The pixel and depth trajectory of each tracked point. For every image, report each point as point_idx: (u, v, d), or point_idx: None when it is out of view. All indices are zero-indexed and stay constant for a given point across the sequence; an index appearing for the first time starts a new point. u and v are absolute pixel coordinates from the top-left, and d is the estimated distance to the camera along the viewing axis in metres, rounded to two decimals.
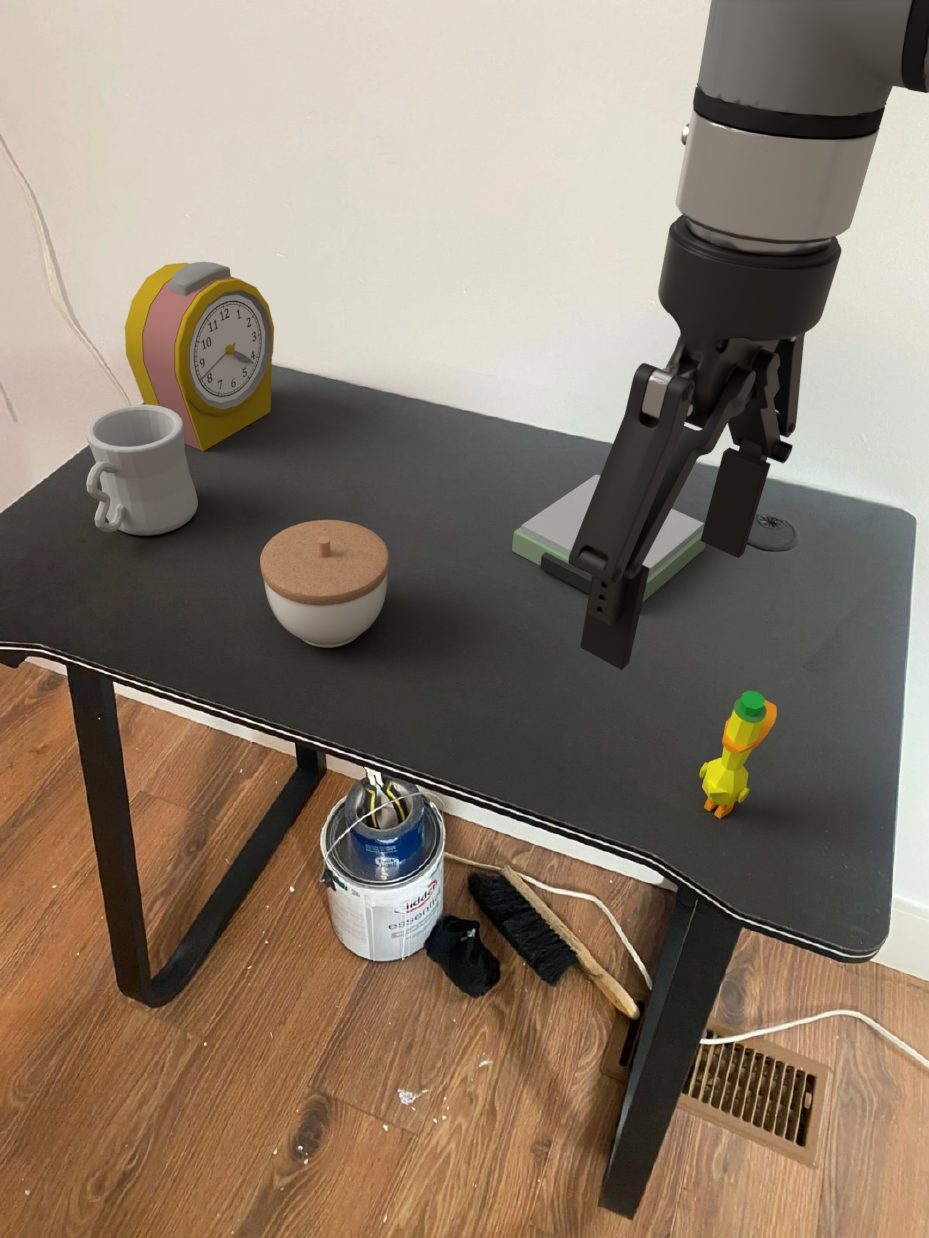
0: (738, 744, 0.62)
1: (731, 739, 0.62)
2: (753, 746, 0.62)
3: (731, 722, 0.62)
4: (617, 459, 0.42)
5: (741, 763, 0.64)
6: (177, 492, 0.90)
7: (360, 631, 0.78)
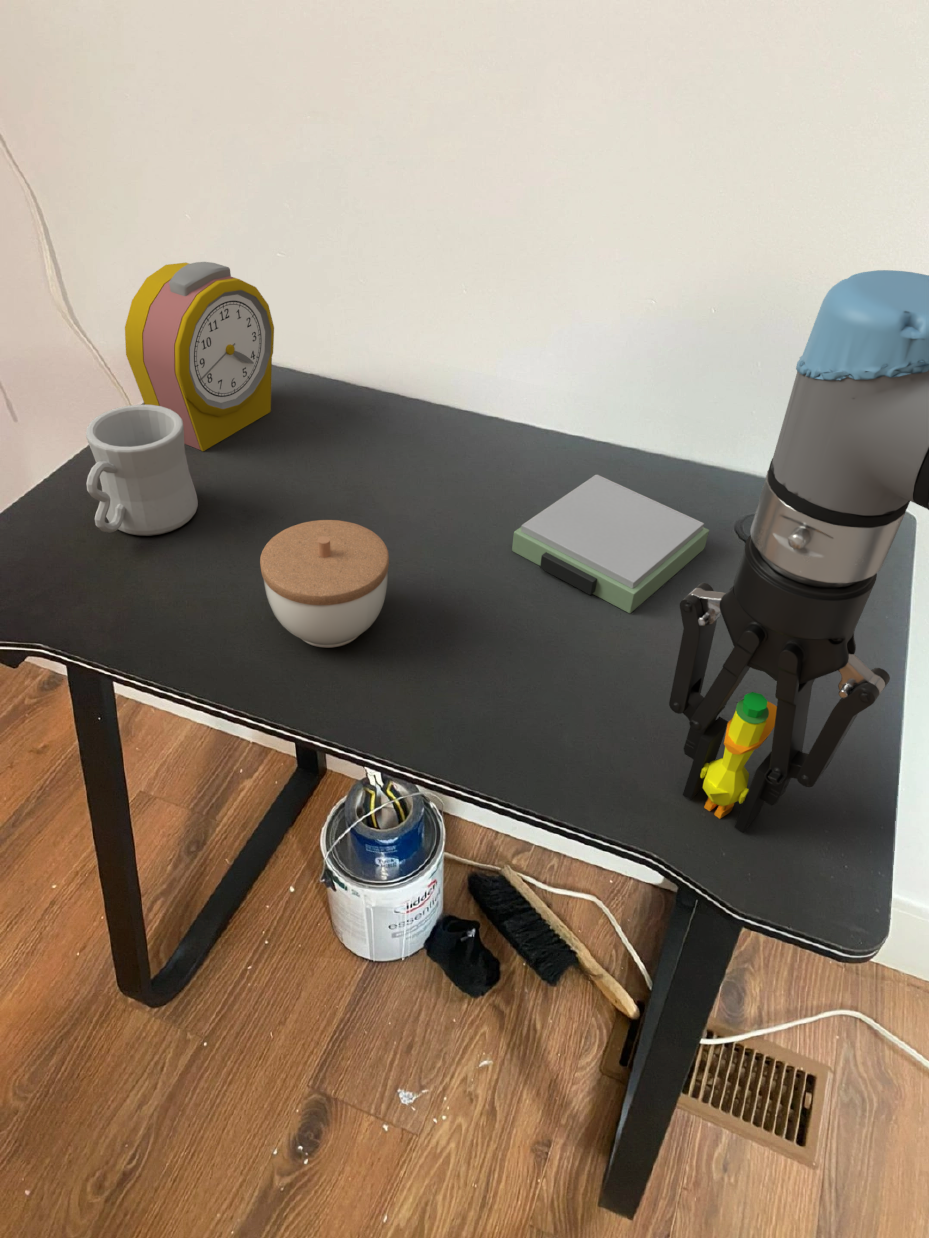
0: (740, 745, 0.62)
1: (733, 740, 0.62)
2: (755, 747, 0.62)
3: (733, 723, 0.62)
4: (844, 732, 0.57)
5: (742, 764, 0.64)
6: (177, 492, 0.90)
7: (360, 631, 0.78)
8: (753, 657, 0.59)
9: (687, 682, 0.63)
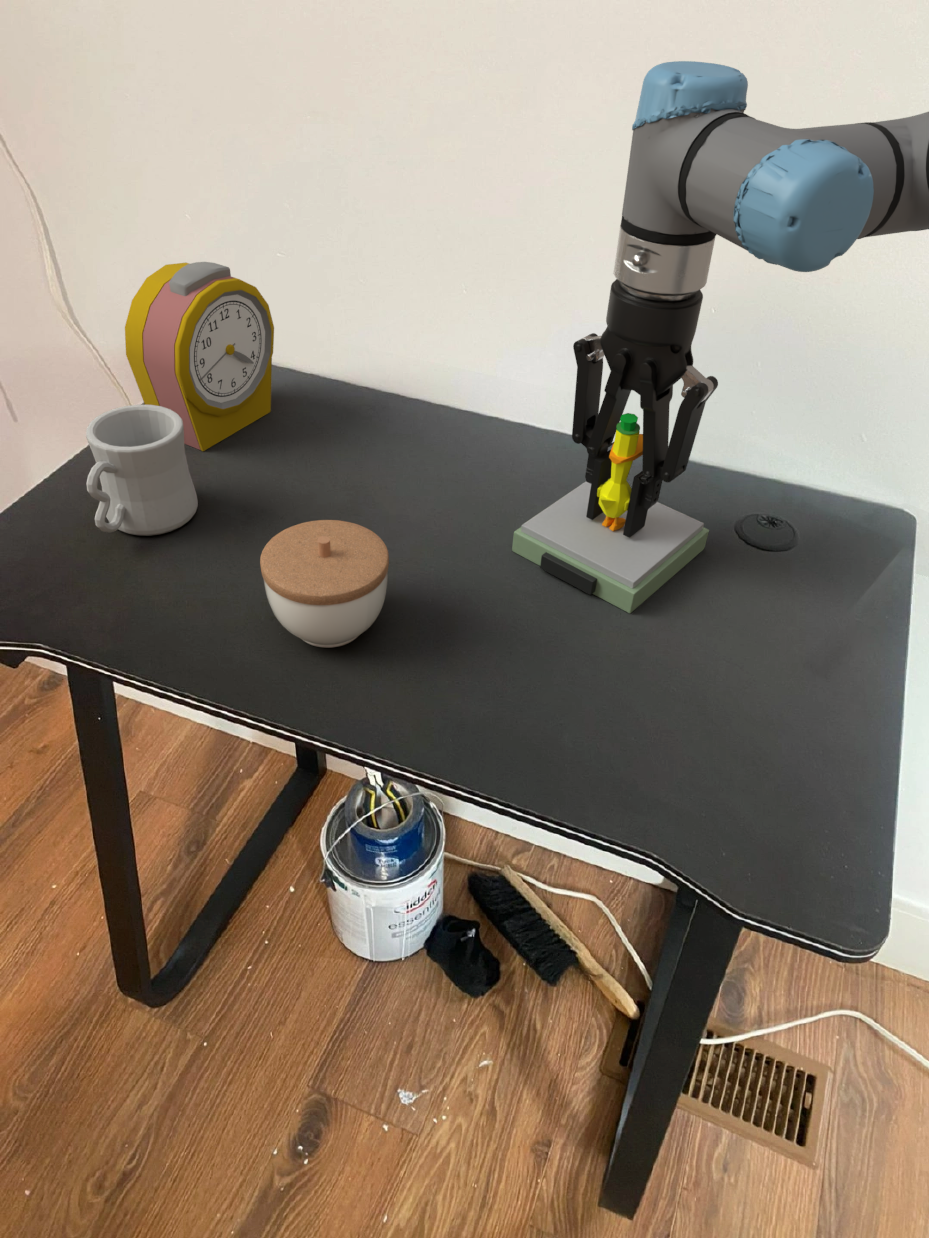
0: (620, 457, 0.84)
1: (615, 454, 0.84)
2: (631, 458, 0.84)
3: (615, 439, 0.83)
4: (689, 429, 0.79)
5: (625, 476, 0.85)
6: (177, 492, 0.90)
7: (360, 631, 0.78)
8: (624, 379, 0.80)
9: (583, 413, 0.85)
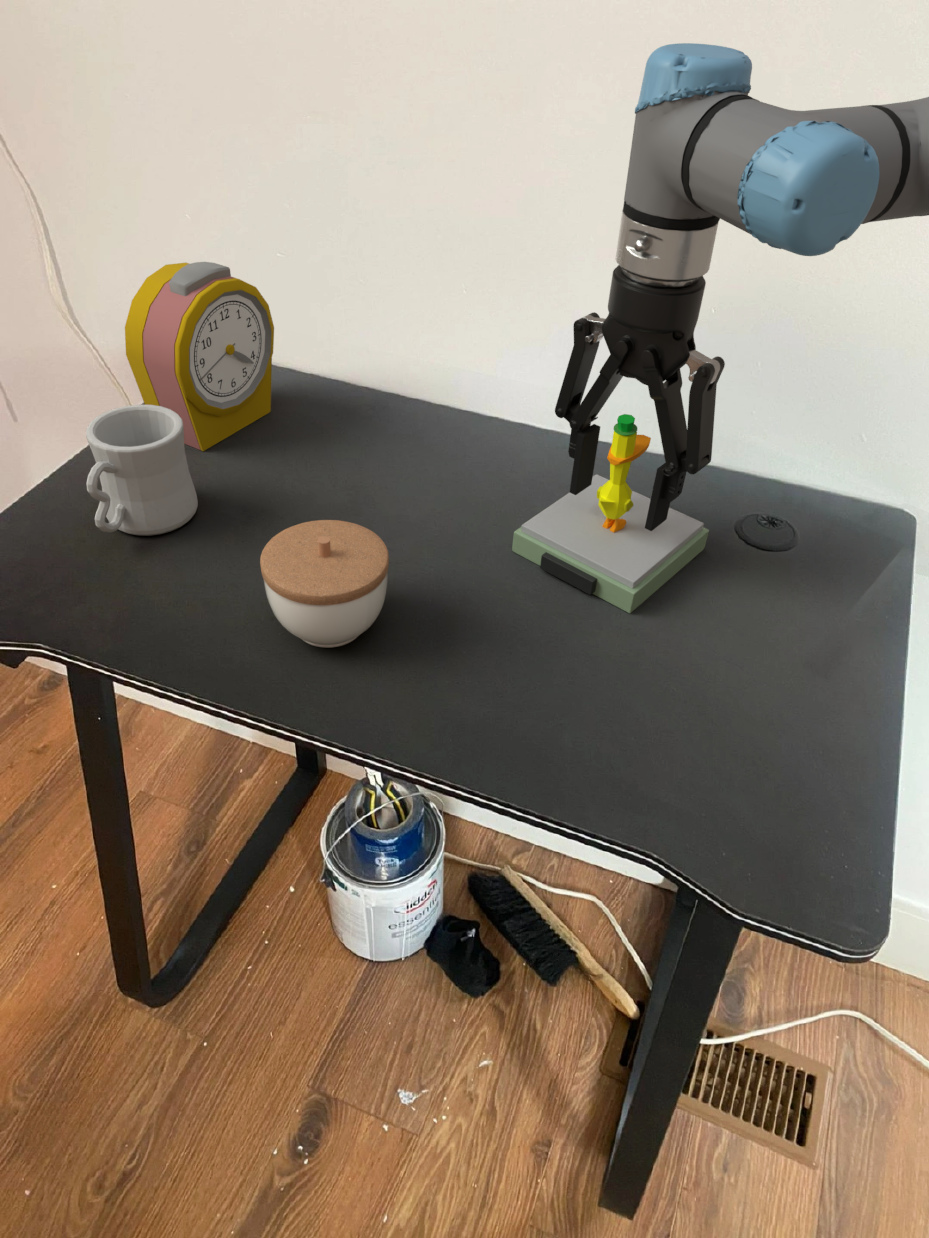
0: (618, 458, 0.84)
1: (613, 455, 0.84)
2: (630, 459, 0.84)
3: (612, 441, 0.83)
4: (704, 414, 0.77)
5: (623, 477, 0.85)
6: (177, 492, 0.90)
7: (360, 631, 0.78)
8: (626, 367, 0.79)
9: (570, 391, 0.84)
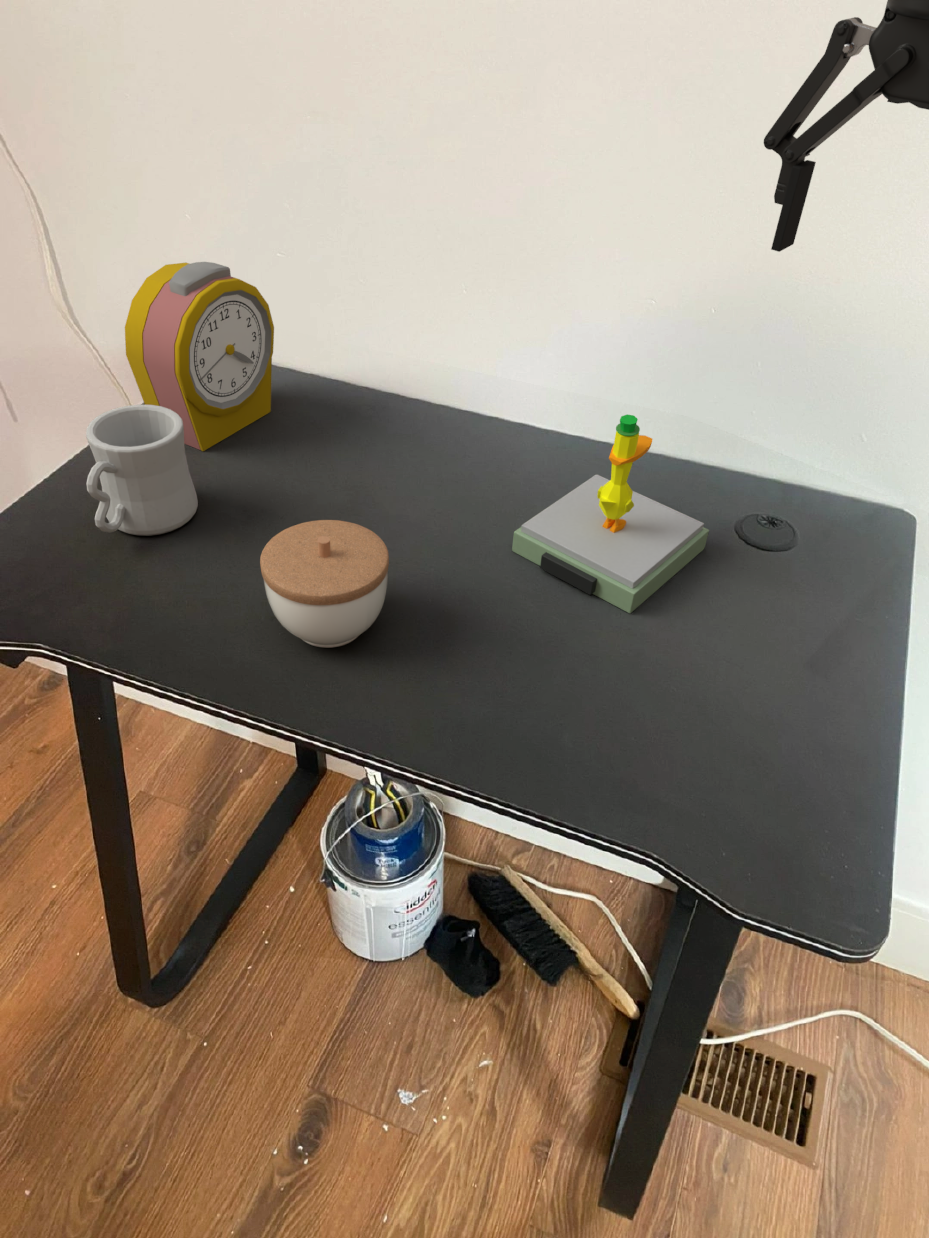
0: (620, 458, 0.84)
1: (615, 455, 0.84)
2: (631, 460, 0.84)
3: (615, 441, 0.83)
4: None
5: (625, 478, 0.85)
6: (177, 492, 0.90)
7: (360, 631, 0.78)
8: (899, 88, 0.66)
9: (796, 115, 0.71)
